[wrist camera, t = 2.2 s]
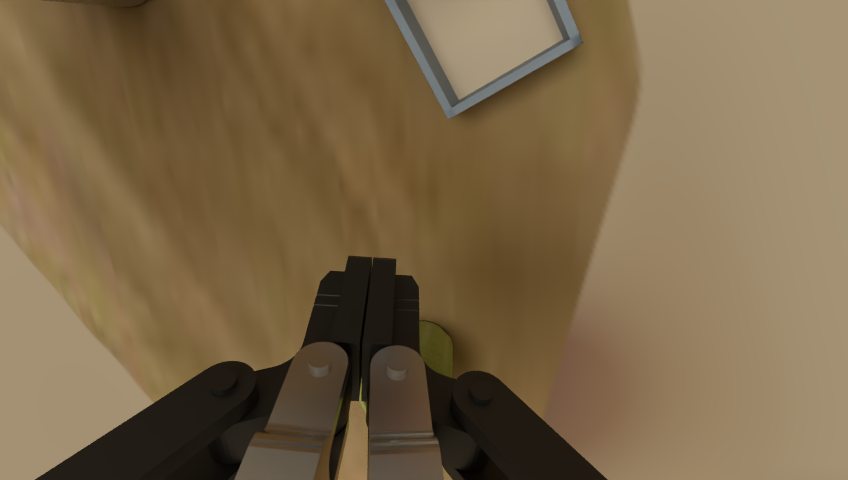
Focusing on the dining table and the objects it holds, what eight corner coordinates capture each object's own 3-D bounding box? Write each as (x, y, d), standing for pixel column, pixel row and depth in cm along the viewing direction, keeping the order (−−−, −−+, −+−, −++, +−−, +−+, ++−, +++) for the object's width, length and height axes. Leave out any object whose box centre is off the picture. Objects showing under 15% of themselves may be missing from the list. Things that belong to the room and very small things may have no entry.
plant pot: (386, 371, 49) (363, 432, 42) (380, 303, 45) (353, 357, 38) (467, 380, 48) (457, 446, 40) (467, 310, 44) (457, 368, 36)
